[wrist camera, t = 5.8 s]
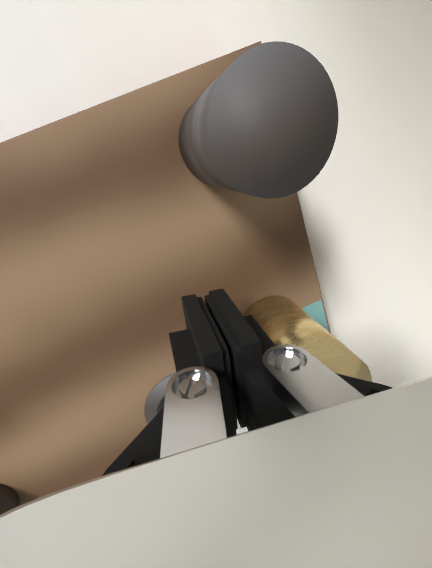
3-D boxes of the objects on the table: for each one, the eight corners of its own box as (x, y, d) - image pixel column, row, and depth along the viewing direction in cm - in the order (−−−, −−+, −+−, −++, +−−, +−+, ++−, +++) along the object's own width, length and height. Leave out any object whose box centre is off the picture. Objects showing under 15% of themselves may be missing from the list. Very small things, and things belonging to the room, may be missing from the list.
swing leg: (190, 441, 16) (212, 548, 12) (143, 417, 15) (147, 528, 10) (311, 319, 15) (386, 384, 11) (273, 282, 14) (339, 338, 9)
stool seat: (-284, 271, 12) (-987, 450, 4) (235, 66, 13) (354, -51, 6) (-8, 495, 18) (-100, 710, 11) (311, 340, 20) (410, 439, 13)
